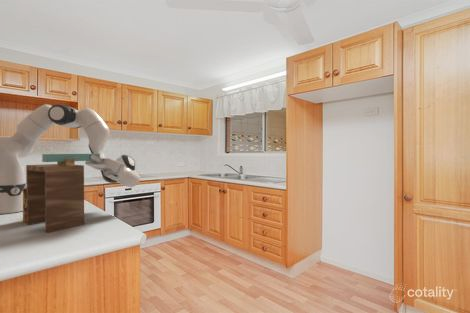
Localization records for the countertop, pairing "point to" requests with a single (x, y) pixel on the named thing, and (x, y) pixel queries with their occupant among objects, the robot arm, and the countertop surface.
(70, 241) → the countertop surface
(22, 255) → the countertop surface
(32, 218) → the wooden cabinet unit
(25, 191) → the candy box
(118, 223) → the countertop surface
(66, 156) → the teal block
